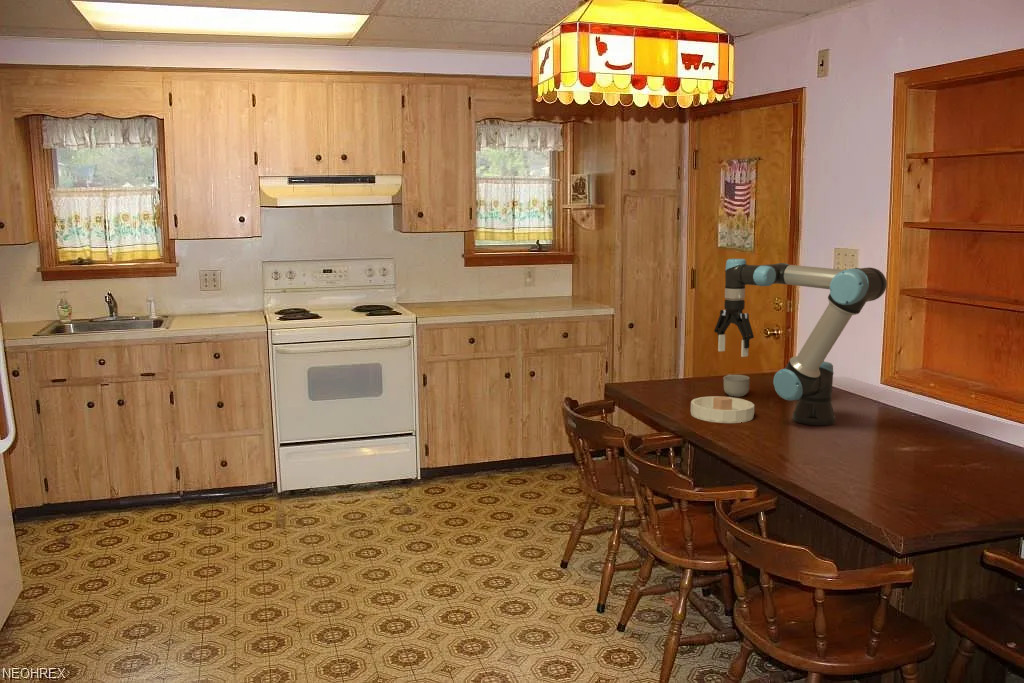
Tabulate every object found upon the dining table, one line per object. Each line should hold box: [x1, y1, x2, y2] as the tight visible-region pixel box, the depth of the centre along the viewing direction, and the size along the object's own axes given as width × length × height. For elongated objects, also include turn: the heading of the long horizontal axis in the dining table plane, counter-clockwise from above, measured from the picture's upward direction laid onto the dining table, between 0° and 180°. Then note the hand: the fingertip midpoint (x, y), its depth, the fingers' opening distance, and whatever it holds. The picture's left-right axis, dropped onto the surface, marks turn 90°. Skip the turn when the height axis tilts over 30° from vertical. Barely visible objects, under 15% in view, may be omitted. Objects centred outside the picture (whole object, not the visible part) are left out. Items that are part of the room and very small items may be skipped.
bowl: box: [690, 395, 755, 424], centre depth 336 cm, size 23×23×5 cm
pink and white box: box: [713, 395, 732, 410], centre depth 336 cm, size 5×5×6 cm
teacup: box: [722, 374, 751, 398], centre depth 372 cm, size 14×11×8 cm
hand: (732, 353), depth 338 cm, fingers open, 13 cm apart
